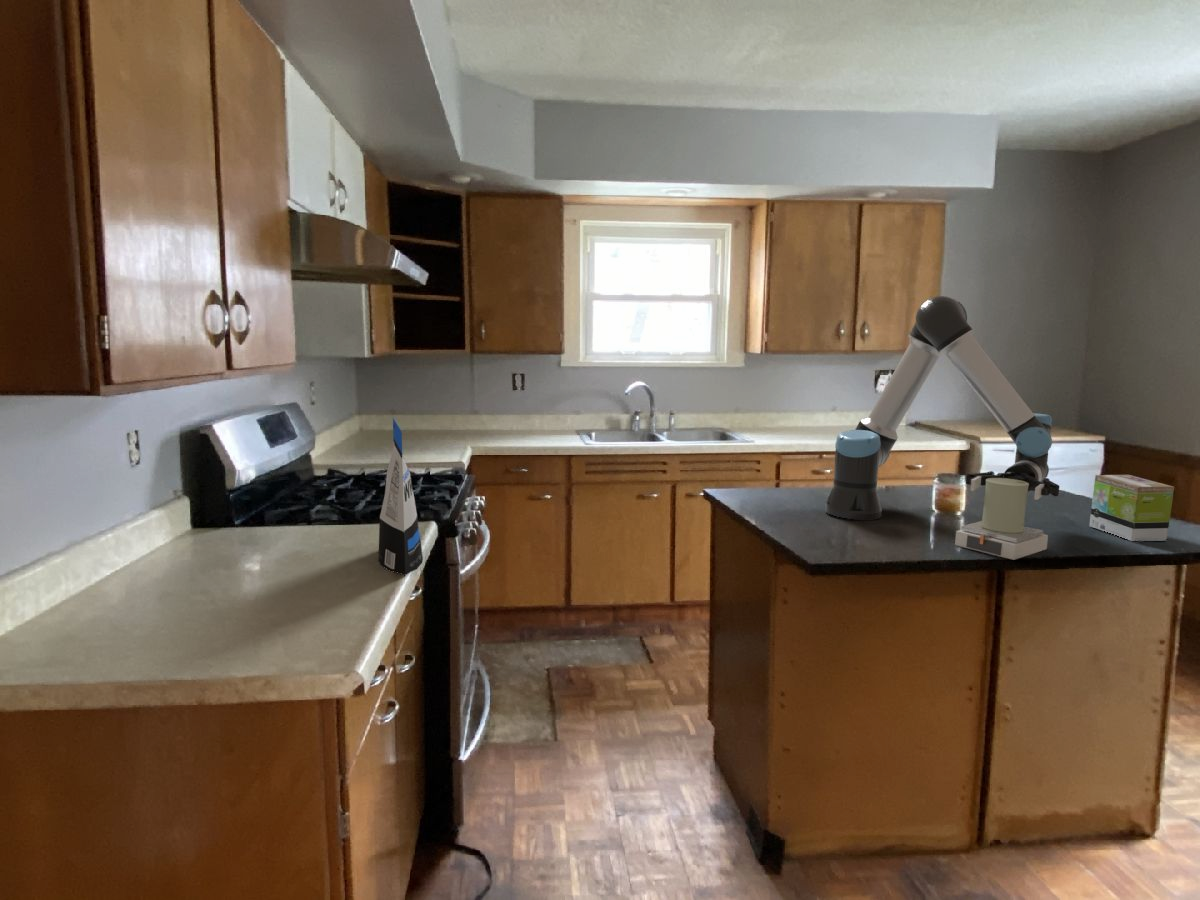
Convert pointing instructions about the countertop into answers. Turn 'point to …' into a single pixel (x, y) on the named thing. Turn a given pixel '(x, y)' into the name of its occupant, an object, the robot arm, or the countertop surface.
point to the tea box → (1131, 507)
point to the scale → (1001, 545)
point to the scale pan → (1002, 533)
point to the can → (1004, 505)
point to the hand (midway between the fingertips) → (1003, 489)
